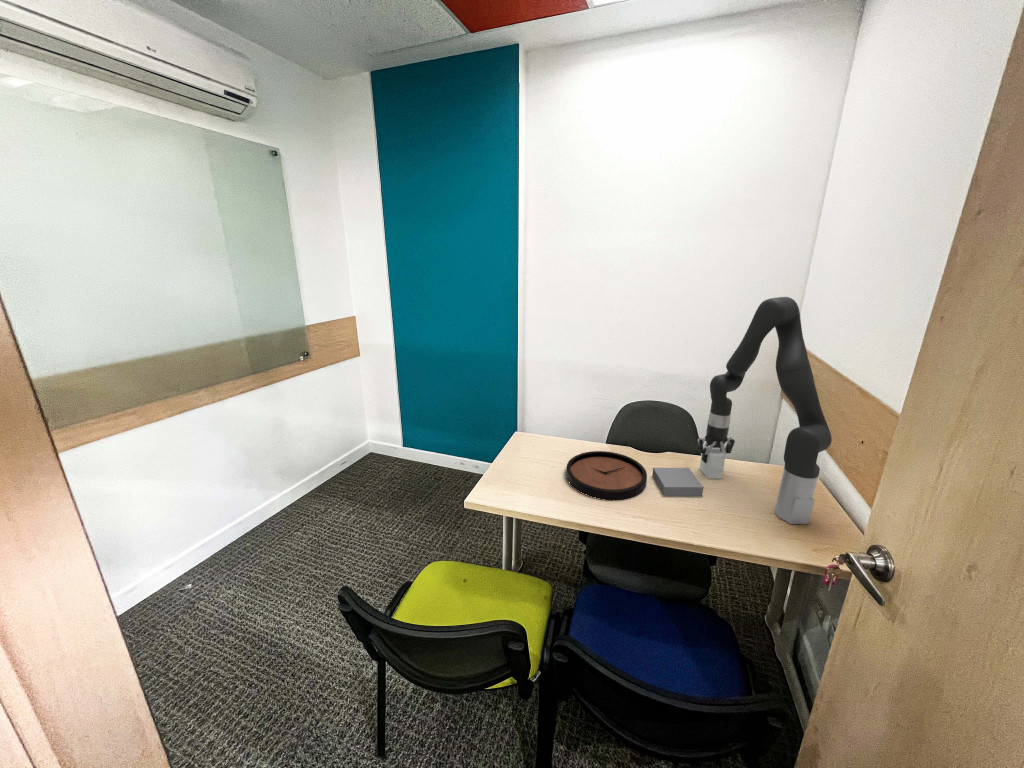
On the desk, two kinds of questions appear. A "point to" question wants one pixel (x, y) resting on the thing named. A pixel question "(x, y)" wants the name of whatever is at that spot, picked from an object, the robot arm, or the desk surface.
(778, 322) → the robot arm
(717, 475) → the small box
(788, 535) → the desk surface
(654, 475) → the base block
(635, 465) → the wall clock
